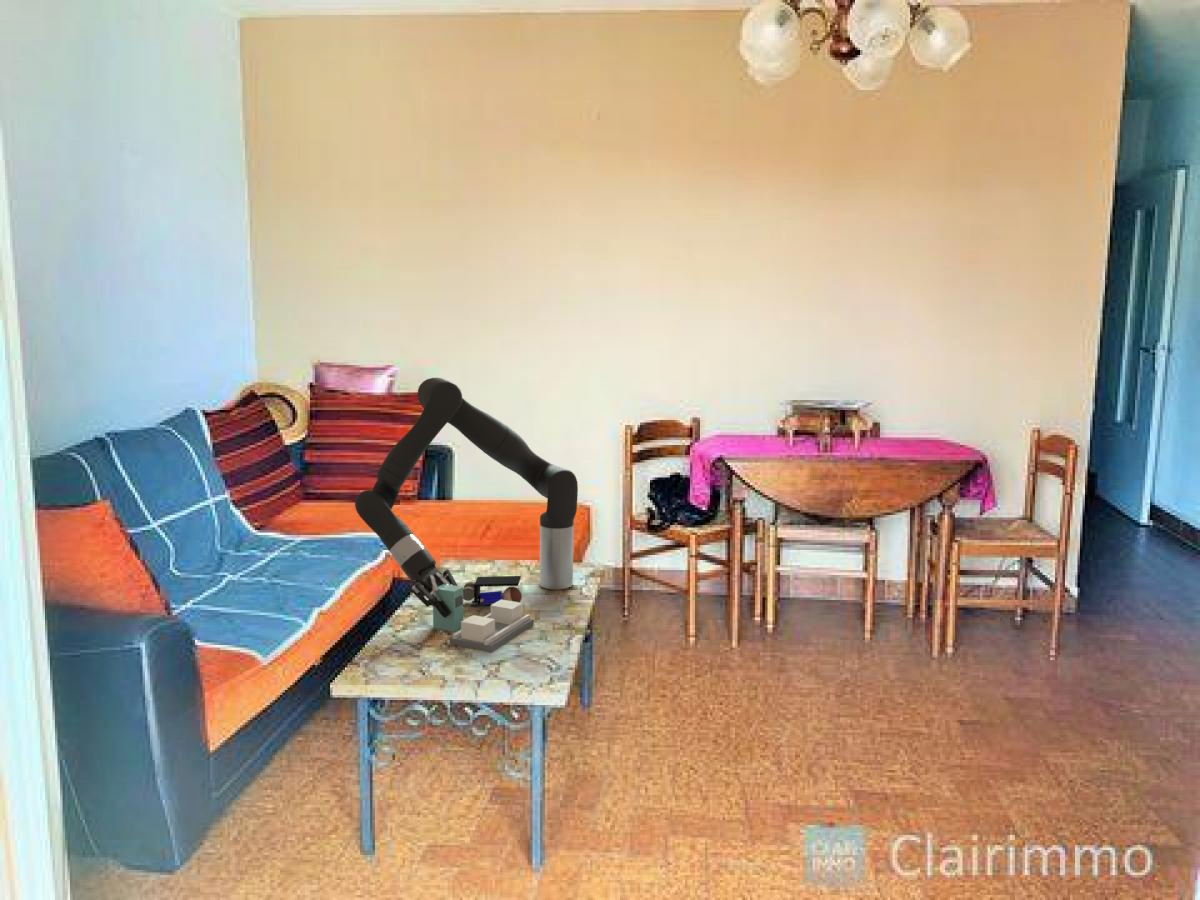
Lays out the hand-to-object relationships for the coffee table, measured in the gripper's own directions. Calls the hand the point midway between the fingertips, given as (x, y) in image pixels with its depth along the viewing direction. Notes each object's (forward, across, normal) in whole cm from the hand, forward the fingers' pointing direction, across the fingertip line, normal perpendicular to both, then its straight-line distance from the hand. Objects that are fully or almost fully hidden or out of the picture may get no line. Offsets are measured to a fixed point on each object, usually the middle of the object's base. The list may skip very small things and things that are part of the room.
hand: (454, 611), depth 228 cm
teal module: (+2, 0, +4) cm, 5 cm away
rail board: (+10, +1, -4) cm, 11 cm away
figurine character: (+2, +19, +4) cm, 20 cm away
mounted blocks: (+9, +1, -5) cm, 11 cm away
